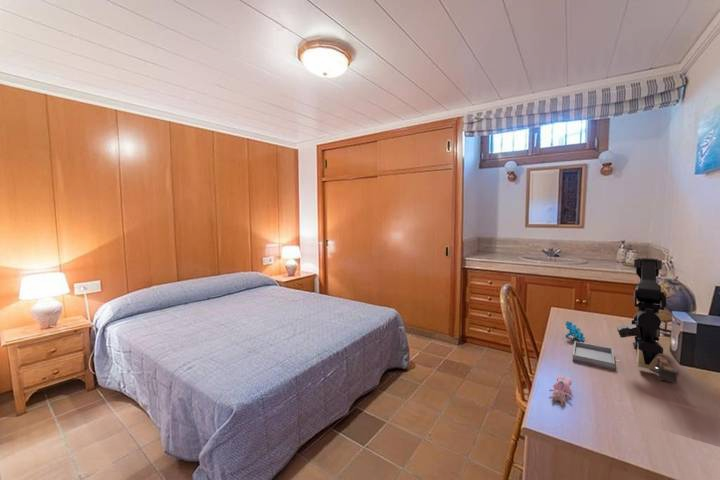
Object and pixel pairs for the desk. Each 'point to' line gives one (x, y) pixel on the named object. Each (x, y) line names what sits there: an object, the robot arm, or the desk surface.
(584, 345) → the stop tray
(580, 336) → the blue branched piece
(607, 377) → the desk surface
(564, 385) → the rabbit figure
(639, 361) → the stop block
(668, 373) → the crank lever
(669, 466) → the desk surface
